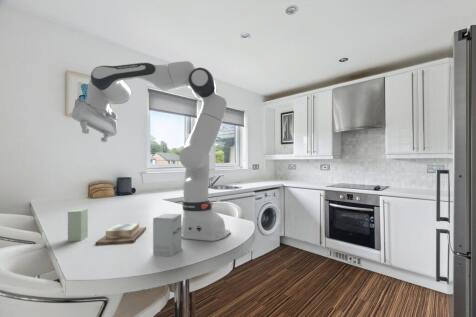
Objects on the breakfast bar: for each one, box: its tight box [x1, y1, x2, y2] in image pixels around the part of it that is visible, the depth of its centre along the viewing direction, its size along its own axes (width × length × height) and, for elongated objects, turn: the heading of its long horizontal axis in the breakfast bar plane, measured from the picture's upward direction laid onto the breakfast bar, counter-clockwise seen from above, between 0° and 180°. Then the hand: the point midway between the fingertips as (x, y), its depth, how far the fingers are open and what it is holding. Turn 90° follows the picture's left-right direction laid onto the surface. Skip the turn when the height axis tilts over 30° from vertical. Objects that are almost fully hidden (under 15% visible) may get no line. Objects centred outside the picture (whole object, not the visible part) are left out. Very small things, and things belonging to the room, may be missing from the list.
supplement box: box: [152, 213, 183, 257], centre depth 78 cm, size 7×7×13 cm
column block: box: [67, 208, 89, 242], centre depth 93 cm, size 5×5×12 cm
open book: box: [94, 223, 147, 246], centre depth 96 cm, size 14×18×4 cm
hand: (95, 137), depth 94 cm, fingers open, 8 cm apart
